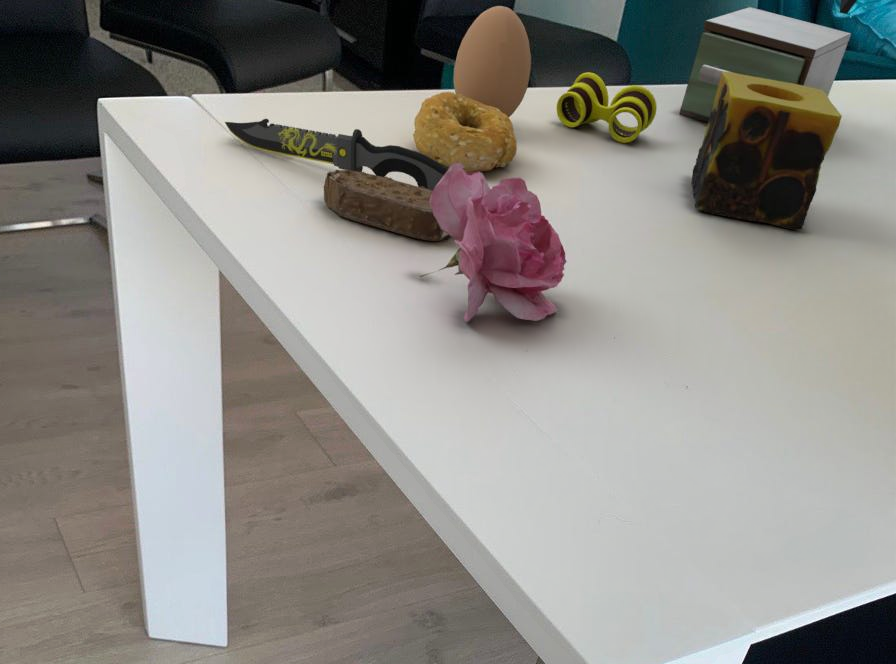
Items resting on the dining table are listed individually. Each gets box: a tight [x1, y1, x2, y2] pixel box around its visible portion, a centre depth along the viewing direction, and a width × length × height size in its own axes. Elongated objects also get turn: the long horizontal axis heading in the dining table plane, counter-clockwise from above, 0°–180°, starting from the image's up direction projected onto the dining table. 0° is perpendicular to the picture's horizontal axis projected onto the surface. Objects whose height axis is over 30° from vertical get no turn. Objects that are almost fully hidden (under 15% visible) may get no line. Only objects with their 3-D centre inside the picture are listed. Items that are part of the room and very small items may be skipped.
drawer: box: [681, 32, 805, 117], centre depth 118 cm, size 19×12×8 cm, turn 148°
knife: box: [224, 118, 449, 191], centre depth 88 cm, size 23×2×5 cm, turn 62°
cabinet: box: [678, 6, 852, 124], centre depth 121 cm, size 16×13×10 cm
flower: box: [419, 163, 568, 324], centre depth 72 cm, size 11×10×10 cm
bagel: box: [412, 91, 518, 173], centre depth 96 cm, size 10×11×5 cm
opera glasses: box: [556, 71, 657, 144], centre depth 109 cm, size 10×5×5 cm, turn 62°
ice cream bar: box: [323, 169, 451, 242], centre depth 81 cm, size 5×15×3 cm, turn 70°
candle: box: [690, 72, 843, 231], centre depth 95 cm, size 10×10×10 cm
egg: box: [453, 5, 532, 119], centre depth 103 cm, size 8×8×11 cm
